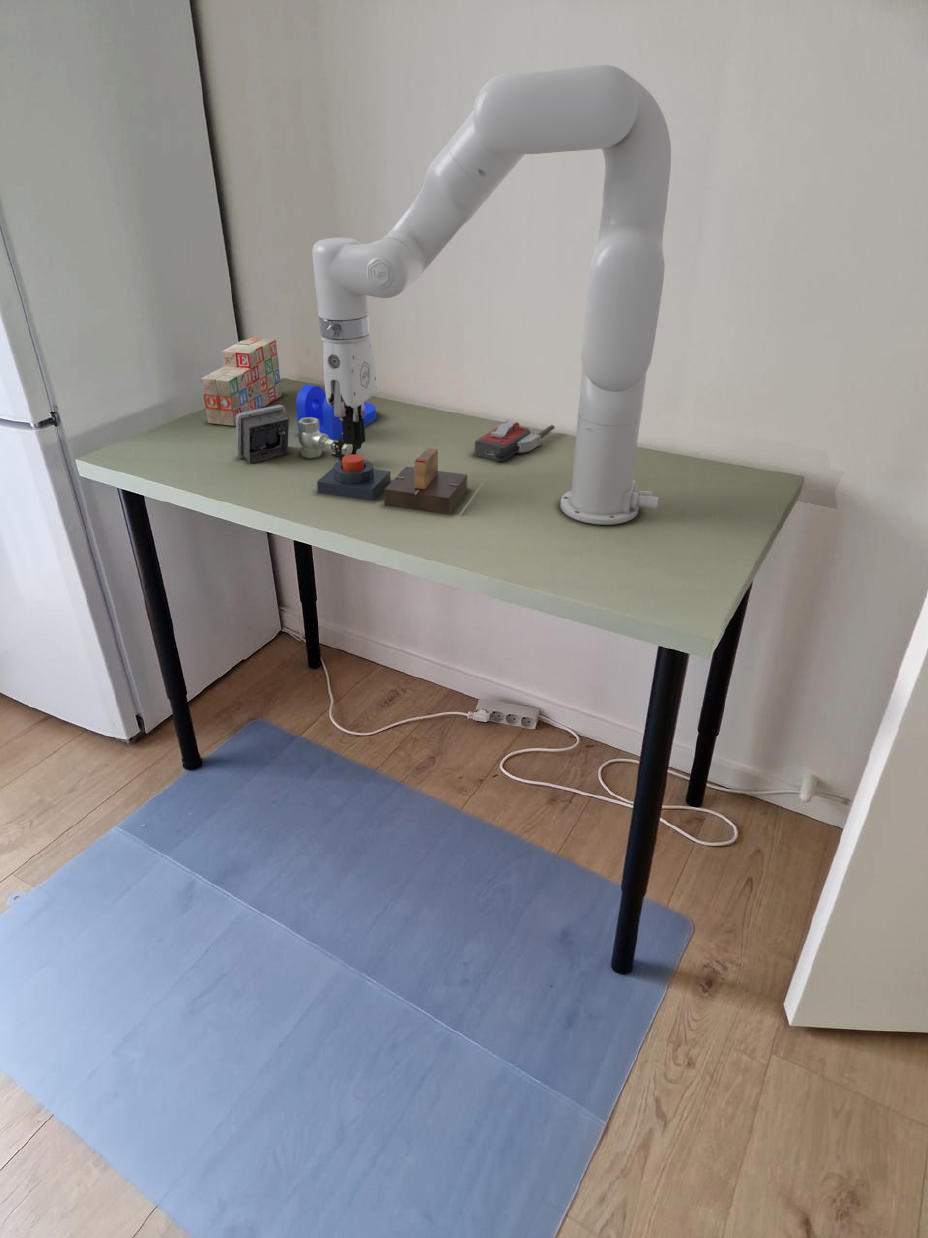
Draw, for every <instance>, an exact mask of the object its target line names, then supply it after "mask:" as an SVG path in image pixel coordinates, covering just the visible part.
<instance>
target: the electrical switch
mask: <svg viewBox="0 0 928 1238" xmlns="http://www.w3.org/2000/svg"><path fill="white" fill-rule="evenodd" d="M286 409H287V408H286V407H285V406H284V405H282V404H276V405H272V406H267V407H266V406H265V407H263V408H261V409H256V410H252V411H247V412H242V413H238V414H237V415H236V425H235V429H236V430H235V436H236V439H235V440H236V455H237V457H238V458H239V459H240V460H241V459H245V460H246V461H247V462H248V463H249V464H252V463H257V462H261V461H265V460H270V459H272V458H273V457H277V456H281V455H285V454H287V455H288V453H289V426H290V419H289V417H287V415H286V411H287V410H286Z"/></svg>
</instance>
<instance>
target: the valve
mask: <svg viewBox="0 0 928 1238" xmlns="http://www.w3.org/2000/svg"><path fill="white" fill-rule="evenodd" d="M298 426H299V431H300V432H299V431H298V442H299V444H300V446H301V447H300V453H301V456H302V457H304V458H307V459H313V458H319V457H320V456H321V455H322V453H323V452H322V451H326V450H327V449H328V450H330V451H332V452H331V457H332V458H335V459H338V461H337V460H336V461H335V464H336V463H337V462H340V461H342V458H343V457H344V456H345V455H346V456H347V455H359V454H357V451H358V450H361V448H362V446H363V444H361V445H353V444H351V445H352V446H351V445H349V444H345V443H344V439H343V438H342V439H340V440H339V439H335V441H333V440H330V438H329V436H328V435H327V434H323V433H320V431H319V428H320V427H319V420H318V419H316V418H313V417H307V418H302V419H300V420H299V422H298V421H297V427H298ZM342 436H343V432H342Z"/></svg>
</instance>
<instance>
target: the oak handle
mask: <svg viewBox="0 0 928 1238" xmlns="http://www.w3.org/2000/svg"><path fill="white" fill-rule="evenodd" d="M413 468H414V476H415V488H418V489H426V488H427V487H428V485H429V484H430V483H431V482H432V481H433V480H434V478H435V477H436V476H437V475H438V471H439V450H438V448H432V447H431V448H430V447H427V448H426V449H425V450H424V451H423V452H422V453H421V455H419V456H418V457H416V459H415V461H414V462H413Z"/></svg>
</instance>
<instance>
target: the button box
mask: <svg viewBox="0 0 928 1238" xmlns="http://www.w3.org/2000/svg"><path fill="white" fill-rule="evenodd" d="M391 482H392V481H391V470H383V469H376V468H374V465H373V462H371V461H369V460H366V459H364V469H362V470H359V471H345V470H343V465H342V461H340V462H338V461H337V463H336V462H335V464H334V465H333V467H332V468H330V470H328V471H327V472H326V473H324V475H322V476H321V477H320V478H319V479H318V480H317V481H316V485H317V487H316V488H317V493H318V494H322V495H328V496H336V497H342V498H348V499H349V498H350V499H356V500H364V501H370V502H373V501H375V500H376V499H377V497H379V495H381V493H382V492H384V489H385V488H386V487H387V486H388V485H389V484H390V483H391Z"/></svg>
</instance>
